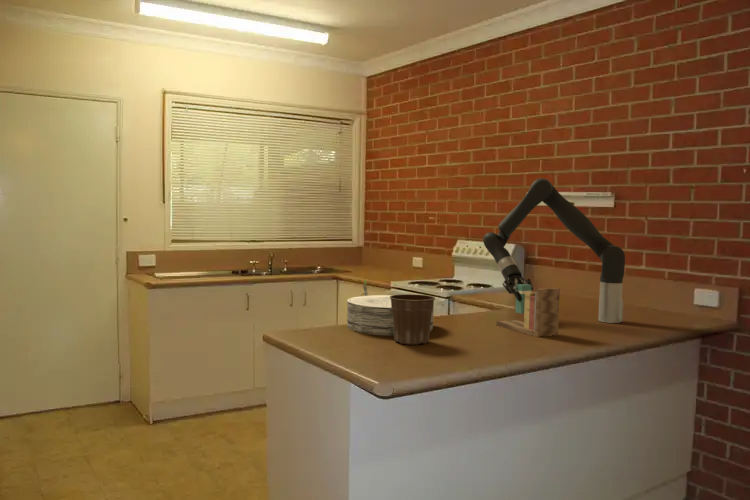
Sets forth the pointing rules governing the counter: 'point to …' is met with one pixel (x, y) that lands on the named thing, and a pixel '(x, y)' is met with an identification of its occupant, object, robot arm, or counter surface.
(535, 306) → the book rack
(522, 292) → the teal book
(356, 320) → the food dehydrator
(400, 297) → the plant pot
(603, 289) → the robot arm
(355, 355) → the counter surface
